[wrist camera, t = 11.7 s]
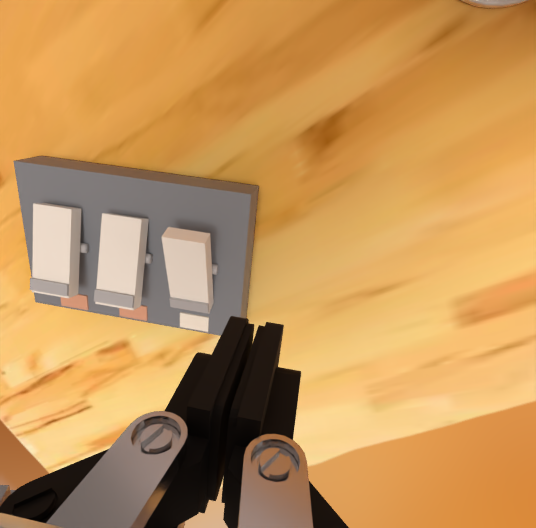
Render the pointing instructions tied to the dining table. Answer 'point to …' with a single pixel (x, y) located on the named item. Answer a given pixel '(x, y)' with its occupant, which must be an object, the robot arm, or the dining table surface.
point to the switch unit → (160, 218)
